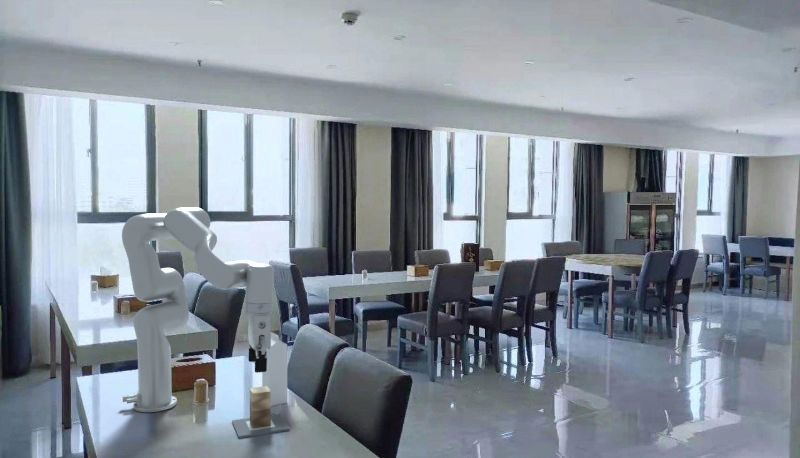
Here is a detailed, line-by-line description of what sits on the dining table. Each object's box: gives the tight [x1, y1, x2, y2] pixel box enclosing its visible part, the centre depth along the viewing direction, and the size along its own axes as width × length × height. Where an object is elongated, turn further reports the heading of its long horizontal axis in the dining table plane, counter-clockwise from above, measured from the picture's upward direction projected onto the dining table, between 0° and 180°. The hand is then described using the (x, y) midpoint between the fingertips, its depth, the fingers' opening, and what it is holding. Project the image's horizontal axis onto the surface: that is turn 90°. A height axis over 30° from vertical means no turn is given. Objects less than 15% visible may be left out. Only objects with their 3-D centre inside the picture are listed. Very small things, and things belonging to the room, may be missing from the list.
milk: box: [261, 331, 288, 407], centre depth 186 cm, size 6×6×22 cm
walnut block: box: [249, 405, 272, 429], centre depth 167 cm, size 5×5×5 cm
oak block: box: [249, 386, 272, 411], centre depth 167 cm, size 5×5×5 cm
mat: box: [231, 412, 290, 439], centre depth 167 cm, size 14×12×1 cm
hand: (257, 366), depth 167 cm, fingers open, 9 cm apart
